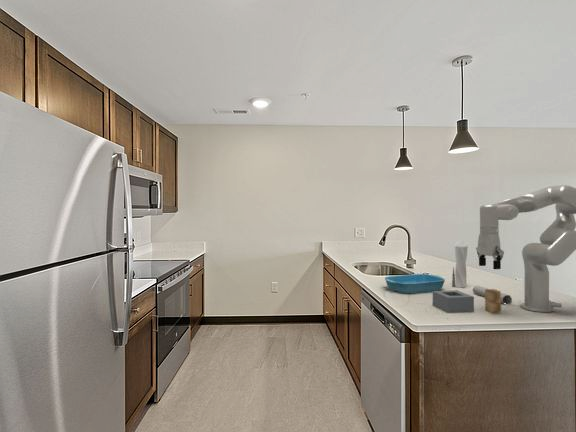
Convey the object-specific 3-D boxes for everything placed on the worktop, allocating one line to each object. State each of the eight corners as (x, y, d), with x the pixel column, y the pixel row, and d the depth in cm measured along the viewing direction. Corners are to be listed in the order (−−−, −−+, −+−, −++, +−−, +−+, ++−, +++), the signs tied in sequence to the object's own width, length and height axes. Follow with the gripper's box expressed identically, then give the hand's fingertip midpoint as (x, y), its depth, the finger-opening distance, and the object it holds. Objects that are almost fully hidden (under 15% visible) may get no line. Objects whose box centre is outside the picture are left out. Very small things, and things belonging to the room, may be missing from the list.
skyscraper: (454, 284, 216) (454, 241, 215) (468, 286, 211) (468, 242, 211) (451, 287, 209) (451, 242, 209) (466, 289, 204) (466, 243, 204)
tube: (469, 286, 193) (500, 297, 169) (477, 283, 194) (510, 293, 169) (472, 295, 194) (504, 307, 169) (480, 291, 194) (513, 303, 169)
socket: (456, 304, 170) (456, 290, 170) (473, 311, 157) (473, 296, 157) (432, 305, 169) (432, 291, 169) (447, 312, 156) (447, 297, 156)
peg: (493, 310, 160) (493, 289, 160) (500, 312, 155) (500, 291, 155) (485, 310, 159) (485, 289, 159) (491, 313, 155) (491, 291, 155)
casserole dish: (400, 296, 187) (400, 283, 187) (377, 287, 209) (377, 276, 209) (453, 291, 199) (453, 279, 199) (426, 283, 220) (426, 272, 220)
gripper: (469, 230, 166) (470, 264, 167) (494, 232, 149) (495, 270, 149) (484, 230, 167) (484, 264, 167) (510, 232, 150) (510, 270, 150)
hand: (489, 267), depth 158 cm, fingers open, 9 cm apart
